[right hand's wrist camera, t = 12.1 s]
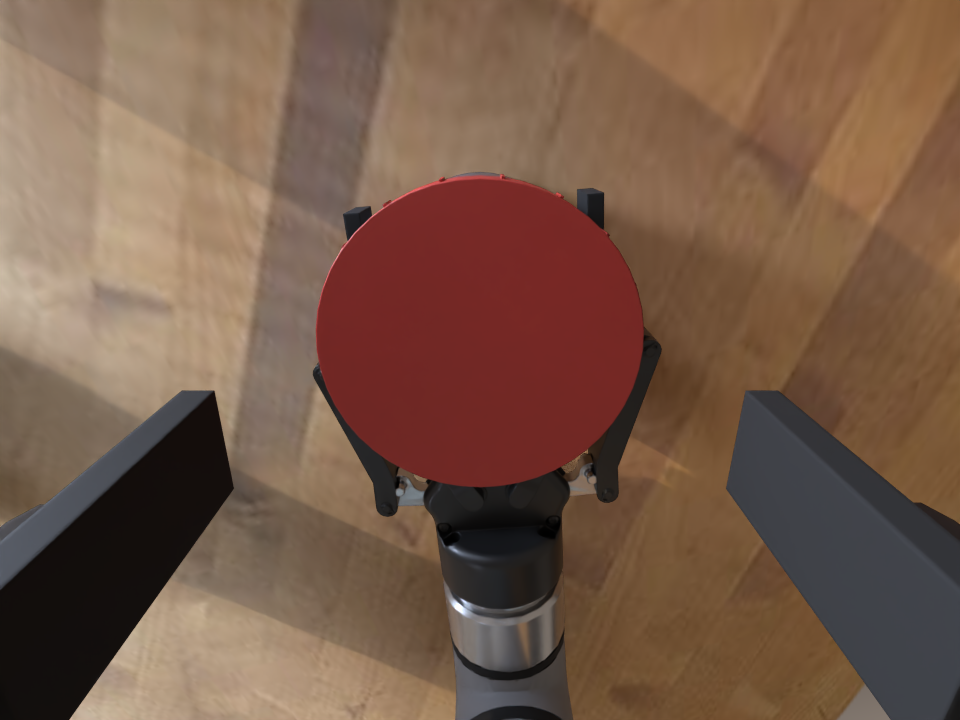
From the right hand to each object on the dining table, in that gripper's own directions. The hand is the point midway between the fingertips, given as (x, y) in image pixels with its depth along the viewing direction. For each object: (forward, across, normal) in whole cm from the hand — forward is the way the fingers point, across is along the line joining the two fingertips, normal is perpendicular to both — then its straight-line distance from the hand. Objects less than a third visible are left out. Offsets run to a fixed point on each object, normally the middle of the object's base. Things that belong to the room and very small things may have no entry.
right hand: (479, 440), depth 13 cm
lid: (+7, 0, 0) cm, 7 cm away
